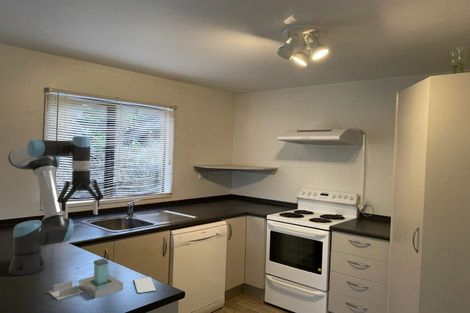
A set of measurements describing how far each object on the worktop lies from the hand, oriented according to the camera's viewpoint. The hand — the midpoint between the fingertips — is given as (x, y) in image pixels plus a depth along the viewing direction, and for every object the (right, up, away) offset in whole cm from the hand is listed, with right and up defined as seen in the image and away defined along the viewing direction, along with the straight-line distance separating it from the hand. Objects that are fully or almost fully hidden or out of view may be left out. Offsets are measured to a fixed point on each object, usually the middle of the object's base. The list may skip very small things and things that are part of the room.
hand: (80, 216), depth 158 cm
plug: (+13, -29, -11) cm, 34 cm away
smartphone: (+31, -30, -7) cm, 44 cm away
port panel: (+13, -29, -11) cm, 34 cm away
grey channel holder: (+1, -29, -16) cm, 33 cm away
